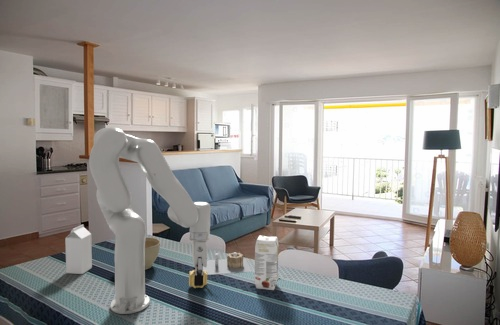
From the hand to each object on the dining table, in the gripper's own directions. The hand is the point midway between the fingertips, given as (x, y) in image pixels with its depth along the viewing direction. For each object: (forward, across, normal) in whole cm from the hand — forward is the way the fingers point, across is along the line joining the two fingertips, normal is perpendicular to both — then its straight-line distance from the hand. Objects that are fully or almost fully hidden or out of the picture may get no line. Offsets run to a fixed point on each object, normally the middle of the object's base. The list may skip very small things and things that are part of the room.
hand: (198, 280), depth 128 cm
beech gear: (0, +15, -17) cm, 23 cm away
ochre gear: (+1, 0, 0) cm, 1 cm away
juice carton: (+2, -4, -26) cm, 26 cm away
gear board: (+2, +15, -13) cm, 20 cm away
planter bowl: (+3, +24, +23) cm, 34 cm away
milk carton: (+4, +24, +48) cm, 54 cm away
